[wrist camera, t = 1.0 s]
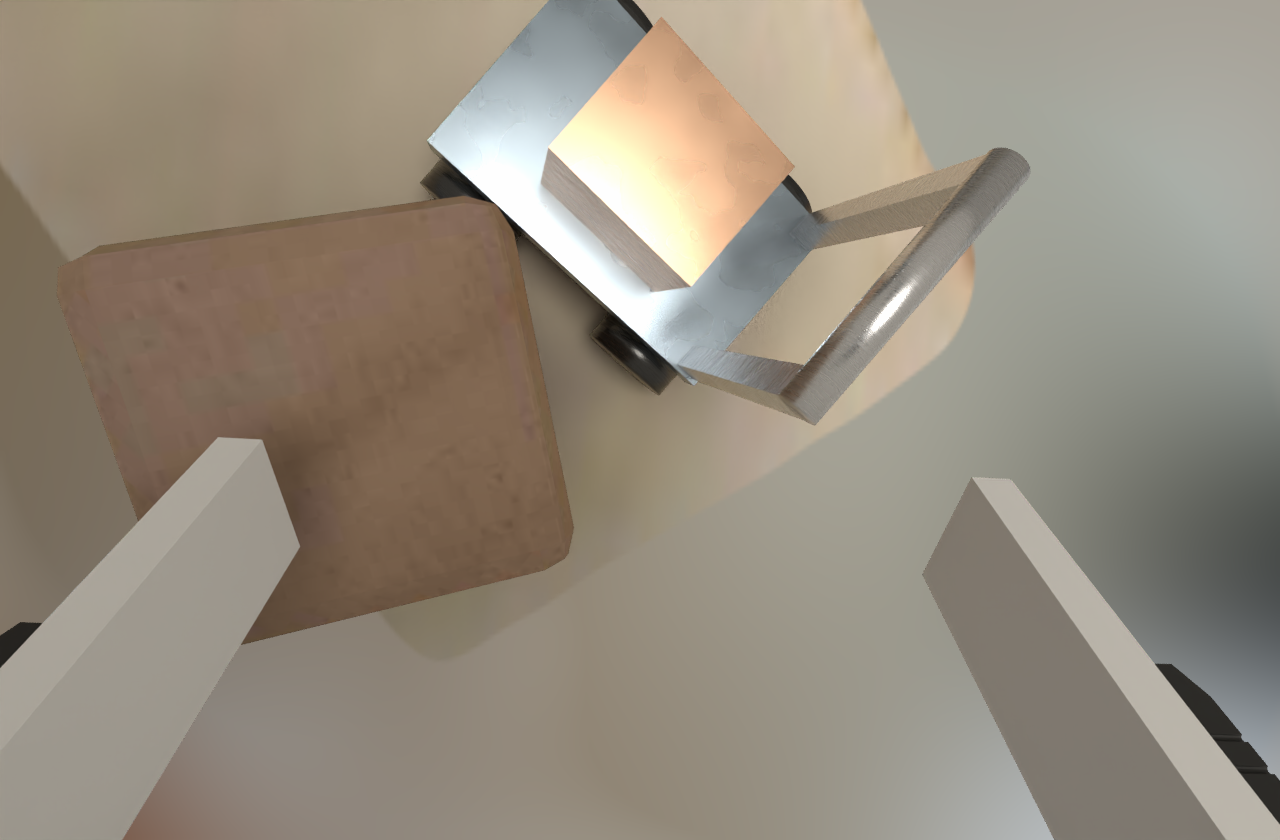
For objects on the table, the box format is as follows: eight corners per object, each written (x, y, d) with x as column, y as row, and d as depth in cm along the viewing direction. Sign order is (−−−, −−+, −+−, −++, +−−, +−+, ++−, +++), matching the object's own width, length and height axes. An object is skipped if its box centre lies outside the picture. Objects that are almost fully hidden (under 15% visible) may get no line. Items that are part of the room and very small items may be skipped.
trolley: (427, 193, 32) (309, 25, 13) (584, 13, 32) (685, -405, 13) (647, 389, 36) (792, 470, 18) (785, 230, 36) (1074, 142, 18)
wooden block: (545, 432, 35) (584, 575, 16) (366, 469, 34) (172, 679, 14) (508, 258, 33) (504, 181, 14) (317, 288, 32) (11, 247, 12)
